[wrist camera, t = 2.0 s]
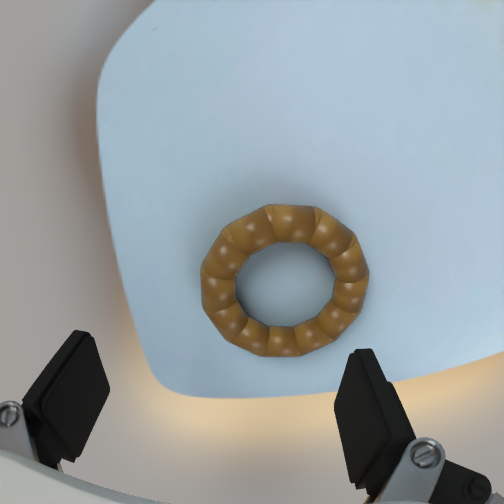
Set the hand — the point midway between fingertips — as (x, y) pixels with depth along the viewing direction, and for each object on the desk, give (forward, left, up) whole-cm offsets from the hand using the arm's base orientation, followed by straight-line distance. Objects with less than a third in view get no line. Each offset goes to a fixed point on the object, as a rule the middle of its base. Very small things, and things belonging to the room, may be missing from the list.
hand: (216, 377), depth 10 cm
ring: (+3, 0, -6) cm, 7 cm away
